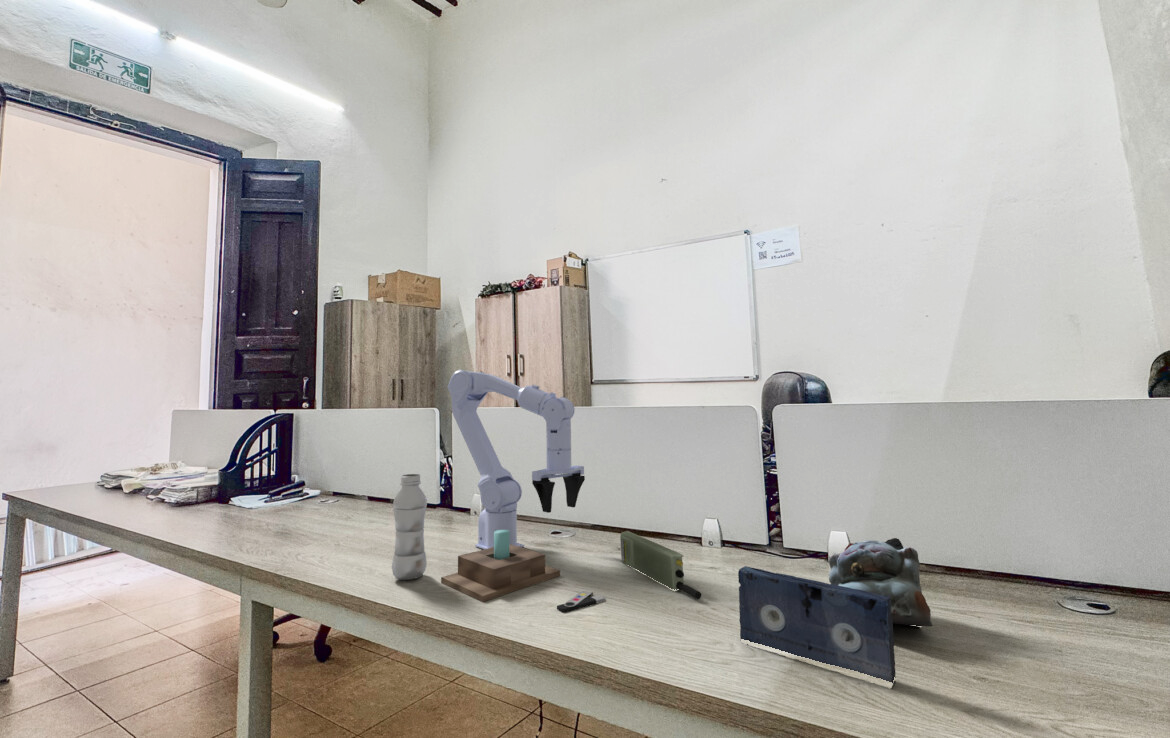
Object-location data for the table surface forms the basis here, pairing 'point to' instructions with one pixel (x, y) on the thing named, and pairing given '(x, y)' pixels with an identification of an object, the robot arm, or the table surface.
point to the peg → (501, 544)
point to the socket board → (494, 593)
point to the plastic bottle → (409, 529)
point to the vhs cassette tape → (818, 621)
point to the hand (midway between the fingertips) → (559, 509)
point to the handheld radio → (655, 562)
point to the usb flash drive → (580, 602)
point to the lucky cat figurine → (884, 577)
